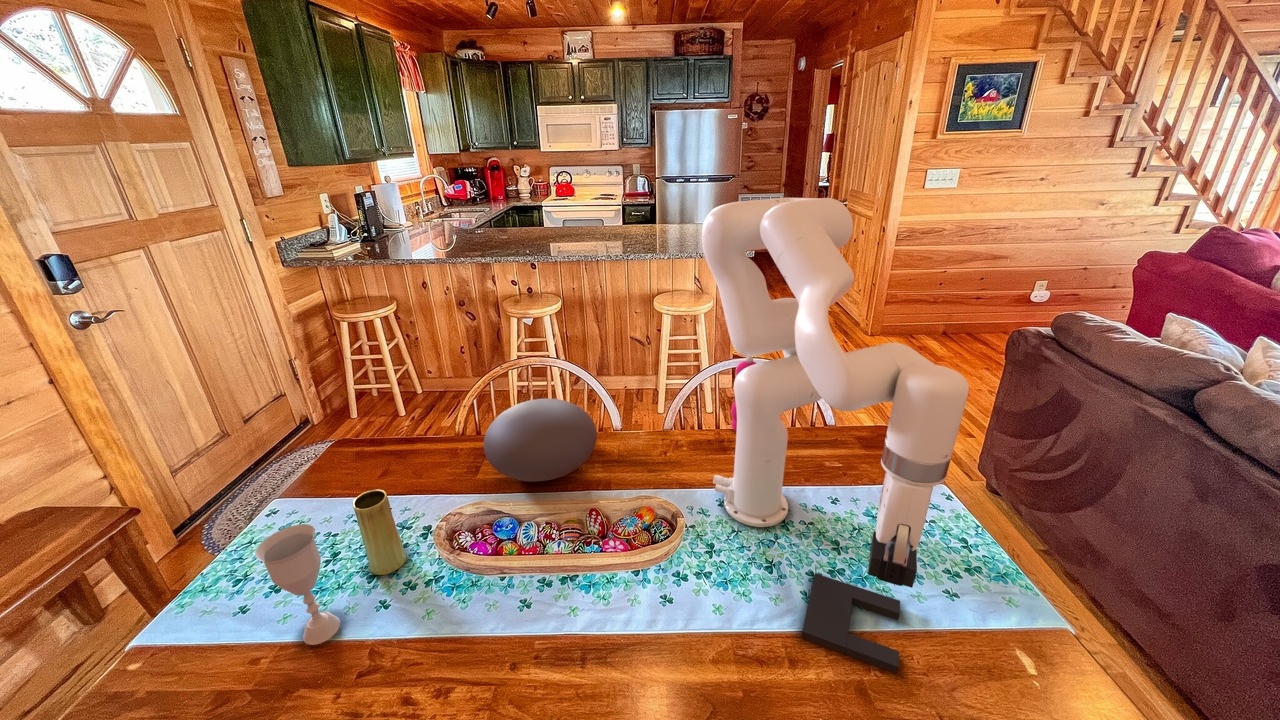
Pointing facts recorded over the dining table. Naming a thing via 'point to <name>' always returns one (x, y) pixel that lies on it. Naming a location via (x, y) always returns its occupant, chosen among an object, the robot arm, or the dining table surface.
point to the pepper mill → (739, 368)
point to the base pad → (847, 621)
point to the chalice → (298, 575)
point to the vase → (379, 532)
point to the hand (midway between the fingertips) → (890, 563)
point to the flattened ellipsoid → (540, 440)
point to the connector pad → (879, 549)
